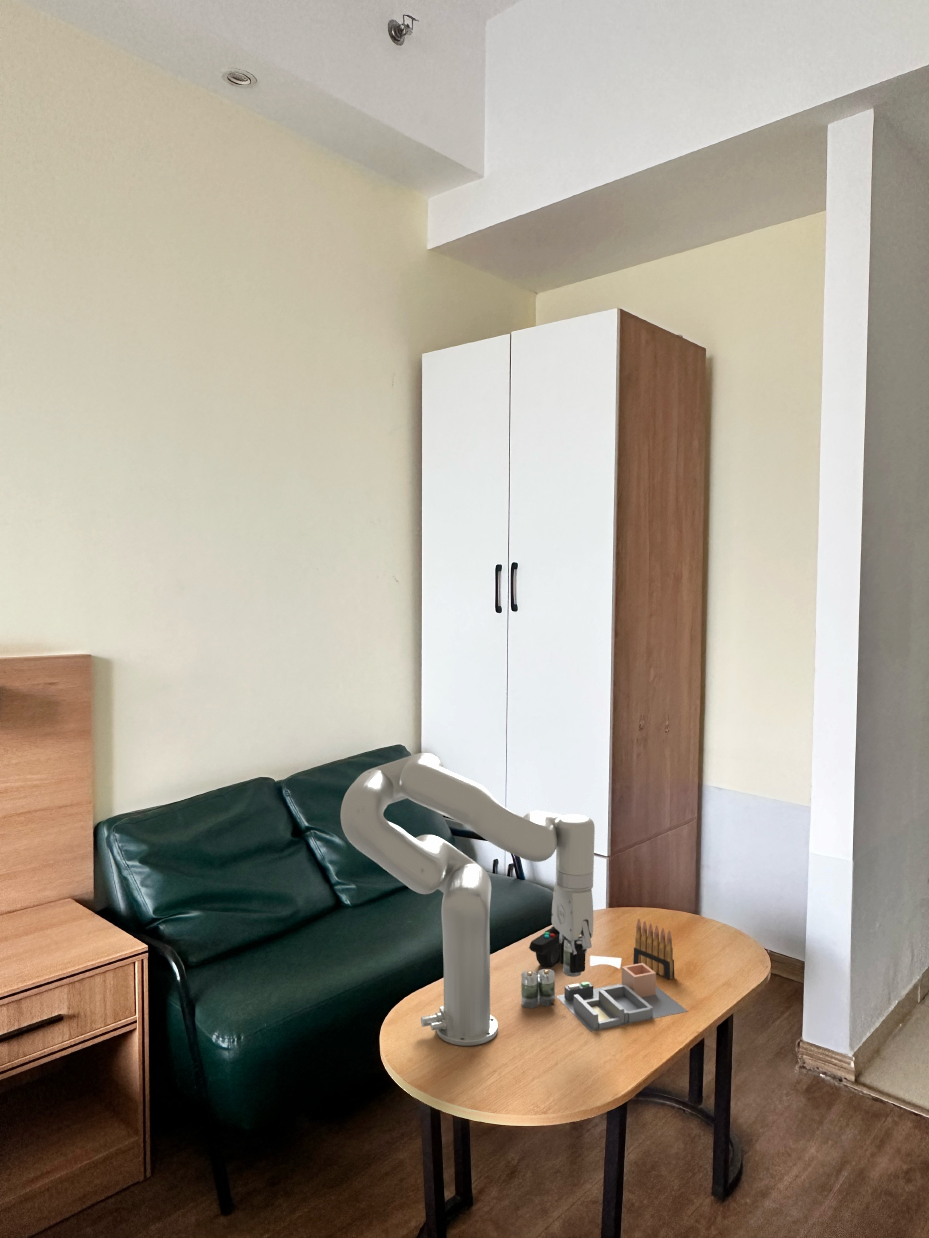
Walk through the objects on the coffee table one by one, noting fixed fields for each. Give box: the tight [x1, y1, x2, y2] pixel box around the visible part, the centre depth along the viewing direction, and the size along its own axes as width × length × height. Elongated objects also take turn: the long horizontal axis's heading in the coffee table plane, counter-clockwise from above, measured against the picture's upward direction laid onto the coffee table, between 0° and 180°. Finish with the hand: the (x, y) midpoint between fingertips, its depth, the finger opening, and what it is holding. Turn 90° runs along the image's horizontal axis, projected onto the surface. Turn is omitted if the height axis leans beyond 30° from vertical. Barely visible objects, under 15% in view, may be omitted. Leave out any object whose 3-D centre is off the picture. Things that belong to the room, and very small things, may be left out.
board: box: [555, 981, 689, 1032], centre depth 190 cm, size 23×16×4 cm
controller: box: [528, 925, 562, 969], centre depth 210 cm, size 4×12×10 cm, turn 142°
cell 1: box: [520, 970, 539, 1009], centre depth 192 cm, size 4×4×7 cm
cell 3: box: [562, 938, 582, 977], centre depth 179 cm, size 4×4×7 cm
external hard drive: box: [589, 955, 622, 970], centre depth 207 cm, size 2×8×12 cm
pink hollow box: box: [621, 963, 657, 997], centre depth 196 cm, size 5×5×5 cm
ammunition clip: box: [632, 918, 675, 981], centre depth 205 cm, size 11×2×12 cm, turn 39°
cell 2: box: [537, 968, 556, 1007], centre depth 193 cm, size 4×4×7 cm
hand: (572, 966), depth 179 cm, fingers closed on cell 3, 3 cm apart
